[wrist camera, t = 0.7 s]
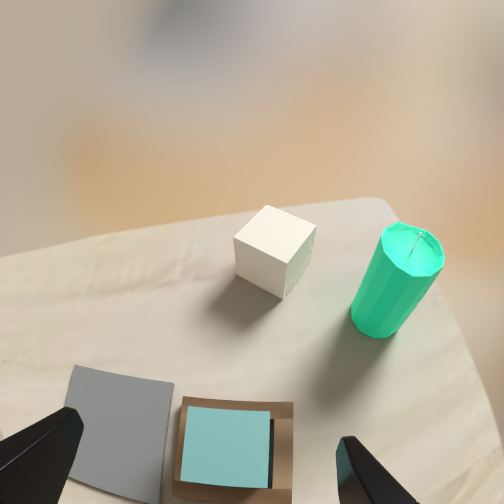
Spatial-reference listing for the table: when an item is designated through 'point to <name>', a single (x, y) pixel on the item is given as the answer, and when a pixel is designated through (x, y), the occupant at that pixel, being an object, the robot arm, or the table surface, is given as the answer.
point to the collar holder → (280, 495)
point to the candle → (396, 279)
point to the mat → (120, 432)
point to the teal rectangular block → (226, 447)
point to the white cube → (273, 250)
